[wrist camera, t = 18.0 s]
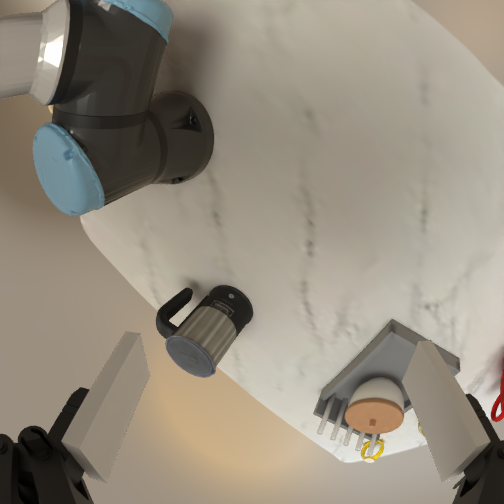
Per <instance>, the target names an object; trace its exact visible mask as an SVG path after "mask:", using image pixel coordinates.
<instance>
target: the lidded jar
mask: <svg viewBox="0 0 504 504" xmlns="http://www.w3.org/2000/svg"><path fill="white" fill-rule="evenodd" d="M403 418H404V398H403V394H402V392H401V390H400V388H399V387H398V386H397V385H396V384H395V383H394V382H393V381H392V380H390V379H388V378H384V377H376V378H372V379H370V380H368V381H367V382H365V383H363V384H362V385H360V386H359V387H358V388H357V389H356V391H355V392H354V393H353V395H352V397H351V399H350V401H349V404H348V407H347V409H346V412H345V420H346V422H347V423H348V425H349V426H351V427H352V428H354V429H355V430H358V431H360V432H364V433H369V434H382V433H387V432H391V431H393V430H395V429H397V428H398V427H399V426H400V425H401V424H402V422H403Z"/></svg>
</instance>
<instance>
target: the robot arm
mask: <svg viewBox="0 0 504 504" xmlns="http://www.w3.org/2000/svg"><path fill="white" fill-rule="evenodd" d="M172 21H173V13H172V10H171V8H170V7H169V6H168V5H167V4H166V3H165V2H163V1H162V0H57V1H55V2H54V3H53V4H51V5H50V6H49V7H47V8H46V9H45V10H43V11H41V12H32V13H19V14H10V15H2V16H0V99H2V98H8V97H13V96H18V95H24V94H28V95H30V96H32V97H33V98H34V99H35V100H36V101H37V102H38V103H39V104H40V105H41V106H47V105H54V106H53V116H52V122H47V123H45V124H44V125H43V126H42V127H40V128H39V129H38V131H37V132H36V136H35V137H34V141H33V157H34V163H35V168H36V171H37V175H38V177H39V180H40V183H41V185H42V187H43V189H44V191H45V193H46V194H47V196H48V197H49V199H50V200H51V201H52V203H53V204H54V205H55V206H56V207H57V208H58V209H59V210H60V211H62V212H63V213H65V214H68V215H71V216H80V215H83V214H85V213H87V212H90V211H92V210H98V209H100V208H102V207H103V206H105V205H107V204H109V203H111V202H113V201H115V200H117V199H119V198H121V197H123V196H125V195H127V194H130V193H132V192H134V191H136V190H138V189H140V188H142V187H144V186H147V185H149V184H179V183H182V182H185V181H187V180H189V179H192V178H194V177H195V176H197V175H198V174H199V173H200V172H201V171H202V170H203V169H204V168H205V166H206V165H207V163H208V161H209V159H210V157H211V153H212V149H213V140H214V138H213V128H212V124H211V121H210V118H209V116H208V114H207V112H206V110H205V108H204V107H203V106H202V105H201V103H200V102H199V101H197V100H196V99H195V98H194V97H192V96H190V95H188V94H186V93H183V92H163V93H159V94H156V95H154V96H152V94H153V89H154V85H155V81H156V78H157V74H158V70H159V66H160V63H161V59H162V56H163V52H164V49H165V46H167V45H168V43H169V39H168V36H169V32H170V28H171V25H172ZM149 377H150V373H149V370H148V365H147V361H146V357H145V352H144V348H143V344H142V339H141V334H140V333H134V332H127V331H126V332H125V333H124V335H123V336H122V338H121V340H120V341H119V343H118V345H117V346H116V348H115V349H114V351H113V352H112V354H111V356H110V357H109V359H108V360H107V362H106V364H105V365H104V367H103V369H102V370H101V372H100V374H99V375H98V377H97V379H96V380H95V382H94V384H93V385H92V387H91V389H90V390H89V389H86V388H82V387H81V388H79V389H78V390H76V391H75V392H74V393H73V394H72V395H71V397H70V398H69V399H68V401H67V403H66V405H65V406H64V408H63V409H62V412H61V413H60V415H59V416H58V418H57V419H56V421H55V423H54V425H53V426H52V428H51V430H50V431H49V433H48V434H47V433H46V431H45V430H43V429H42V428H41V427H38V426H29V427H27V428H24V429H23V430H22V431H21V432H20V434H19V436H18V443H14V442H13V441H12V440H11V438H10V437H8V436H7V435H5V434H0V504H94V503H93V501H92V498H91V496H90V494H89V492H88V489H87V487H86V484H85V482H84V480H83V478H82V476H83V473H84V471H85V472H86V474H87V475H88V476H89V477H90V478H93V479H96V480H99V481H102V482H104V483H107V481H108V478H109V475H110V473H111V470H112V467H113V465H114V462H115V460H116V457H117V454H118V452H119V449H120V447H121V444H122V442H123V439H124V437H125V434H126V432H127V429H128V427H129V424H130V422H131V419H132V417H133V415H134V412H135V410H136V407H137V405H138V403H139V400H140V398H141V395H142V393H143V391H144V388H145V386H146V384H147V381H148V379H149ZM402 383H403V386H404V388H405V390H406V392H407V395H408V397H409V399H410V401H411V404H412V406H413V408H414V411H415V413H416V416H417V418H418V420H419V423H420V425H421V428H422V430H423V433H424V435H425V438H426V440H427V443H428V445H429V448H430V451H431V453H432V456H433V459H434V461H435V464H436V467H437V470H438V472H439V475H440V478H441V481H442V483H443V482H446V481H449V480H452V479H454V478H456V477H457V476H458V475H459V474H461V473H462V472H463V471H464V474H465V476H464V477H463V478H462V479H461V480H460V481H459V482H458V483H457V484H455V486H454V487H453V489H455V488H456V487H457V486H459V485H460V486H459V489H458V491H457V494H456V496H455V499H454V501H453V504H504V440H502V441H500V439H499V438H498V436H497V434H496V432H495V430H494V428H493V426H492V425H491V423H490V421H489V419H488V417H486V414H485V412H484V410H482V407H481V405H480V404H479V402H478V400H477V399H476V398H474V397H473V396H472V395H471V394H466V395H465V394H464V392H463V390H462V389H461V387H460V385H459V384H458V382H457V380H456V379H455V377H454V375H453V374H452V372H451V371H450V369H449V367H448V366H447V364H446V363H445V361H444V360H443V358H442V356H441V355H440V353H439V352H438V350H437V349H436V347H435V346H434V344H433V343H432V341H431V340H427V341H418V344H417V346H416V349H415V351H414V354H413V356H412V359H411V361H410V364H409V366H408V368H407V371H406V373H405V375H404V377H403V380H402Z"/></svg>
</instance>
